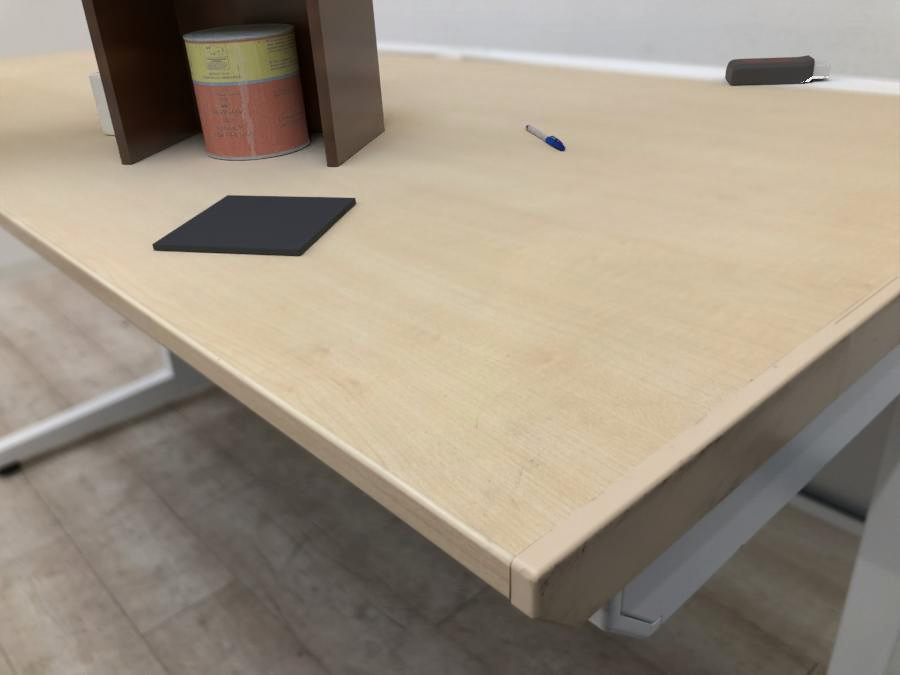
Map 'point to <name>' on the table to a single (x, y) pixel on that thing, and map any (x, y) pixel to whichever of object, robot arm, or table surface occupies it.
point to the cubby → (220, 5)
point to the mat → (257, 225)
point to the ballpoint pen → (547, 138)
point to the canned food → (248, 90)
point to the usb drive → (775, 70)
